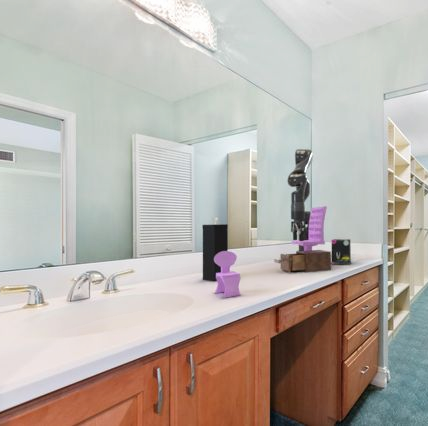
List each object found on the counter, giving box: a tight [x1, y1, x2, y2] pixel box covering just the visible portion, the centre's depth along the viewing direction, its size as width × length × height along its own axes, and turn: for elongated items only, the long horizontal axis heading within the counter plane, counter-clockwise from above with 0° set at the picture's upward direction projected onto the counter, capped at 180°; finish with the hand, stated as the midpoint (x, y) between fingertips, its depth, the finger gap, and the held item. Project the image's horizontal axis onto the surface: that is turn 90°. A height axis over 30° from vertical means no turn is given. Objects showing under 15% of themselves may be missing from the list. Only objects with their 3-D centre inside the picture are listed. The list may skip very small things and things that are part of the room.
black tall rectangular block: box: [202, 216, 229, 282], centre depth 127 cm, size 8×8×28 cm
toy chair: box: [214, 250, 241, 299], centre depth 99 cm, size 8×9×15 cm
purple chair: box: [291, 205, 328, 251], centre depth 170 cm, size 15×17×35 cm
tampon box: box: [330, 238, 352, 266], centre depth 171 cm, size 11×9×15 cm
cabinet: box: [295, 249, 332, 273], centre depth 150 cm, size 15×13×10 cm
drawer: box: [273, 252, 306, 273], centre depth 145 cm, size 18×11×8 cm, turn 115°
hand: (298, 240), depth 150 cm, fingers open, 8 cm apart
